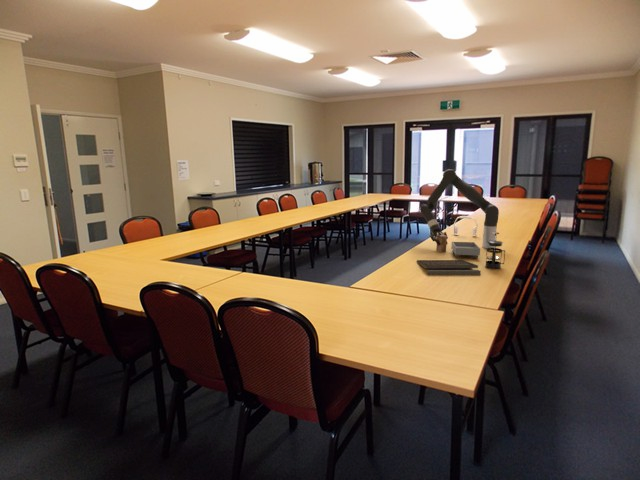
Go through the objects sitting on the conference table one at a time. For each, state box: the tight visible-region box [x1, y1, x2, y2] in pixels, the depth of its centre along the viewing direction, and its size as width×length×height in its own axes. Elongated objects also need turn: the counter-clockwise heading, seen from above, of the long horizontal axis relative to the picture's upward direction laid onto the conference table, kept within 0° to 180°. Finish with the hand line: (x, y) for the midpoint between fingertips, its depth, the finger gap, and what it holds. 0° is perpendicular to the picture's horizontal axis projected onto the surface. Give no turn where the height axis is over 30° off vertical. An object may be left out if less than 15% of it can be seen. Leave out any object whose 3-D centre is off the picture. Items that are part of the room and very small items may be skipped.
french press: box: [484, 231, 506, 270], centre depth 261 cm, size 12×9×23 cm
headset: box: [453, 215, 478, 237], centre depth 362 cm, size 20×7×18 cm, turn 64°
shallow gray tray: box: [451, 241, 481, 260], centre depth 293 cm, size 16×20×8 cm
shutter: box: [416, 259, 481, 276], centre depth 263 cm, size 32×7×31 cm
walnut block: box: [435, 235, 448, 253], centre depth 306 cm, size 5×5×12 cm
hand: (442, 244), depth 305 cm, fingers open, 6 cm apart
